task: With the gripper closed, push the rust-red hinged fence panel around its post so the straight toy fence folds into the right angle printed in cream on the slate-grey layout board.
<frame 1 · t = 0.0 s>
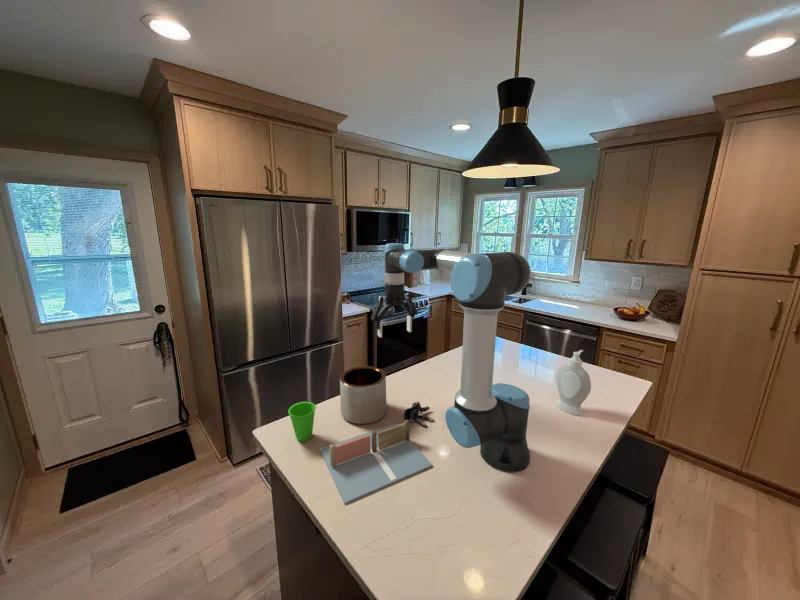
hand: (394, 333, 132), 28 cm above the counter, fingers open, 13 cm apart
fixed fence panel: (374, 452, 104), resting on layout card
soap bottle: (570, 409, 128), on the counter
cup: (304, 437, 111), on the counter
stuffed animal: (416, 417, 124), on the counter
hinged fence panel: (350, 449, 99), point 4 cm above the counter, hinge at 0.0°
planter: (364, 412, 126), on the counter
layout card: (374, 457, 101), on the counter
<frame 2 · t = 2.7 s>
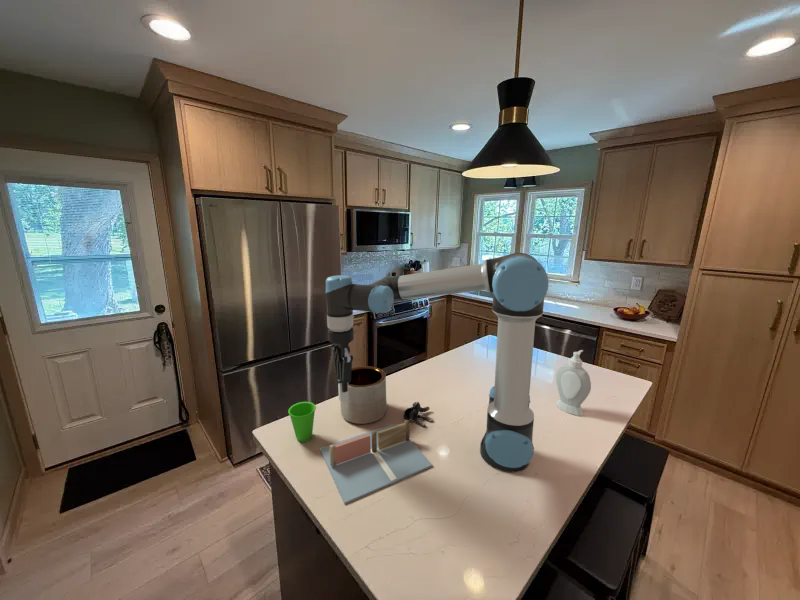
hand: (343, 399, 101), 18 cm above the counter, fingers closed
nothing on the counter moved.
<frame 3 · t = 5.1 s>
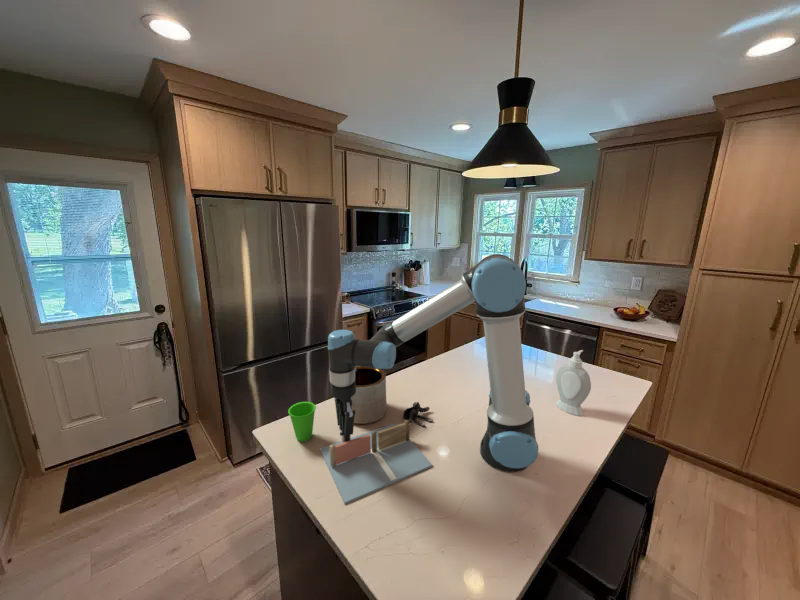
hand: (346, 449, 101), 3 cm above the counter, fingers closed
hinged fence panel: (350, 449, 99), point 4 cm above the counter, hinge at 0.0°, touching gripper
everything else where it was.
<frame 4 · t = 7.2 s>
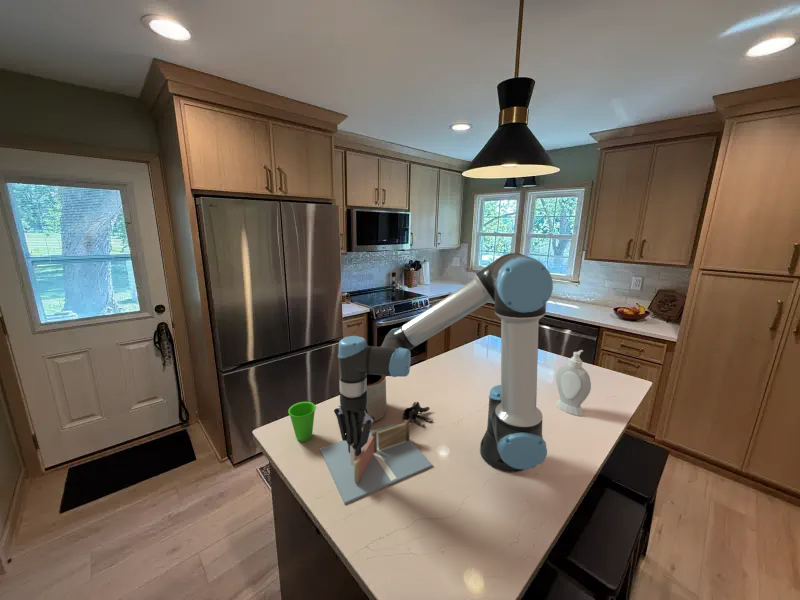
hand: (355, 462, 95), 3 cm above the counter, fingers closed
hinged fence panel: (364, 458, 95), point 4 cm above the counter, hinge at 45.0°, touching gripper
everything else where it was.
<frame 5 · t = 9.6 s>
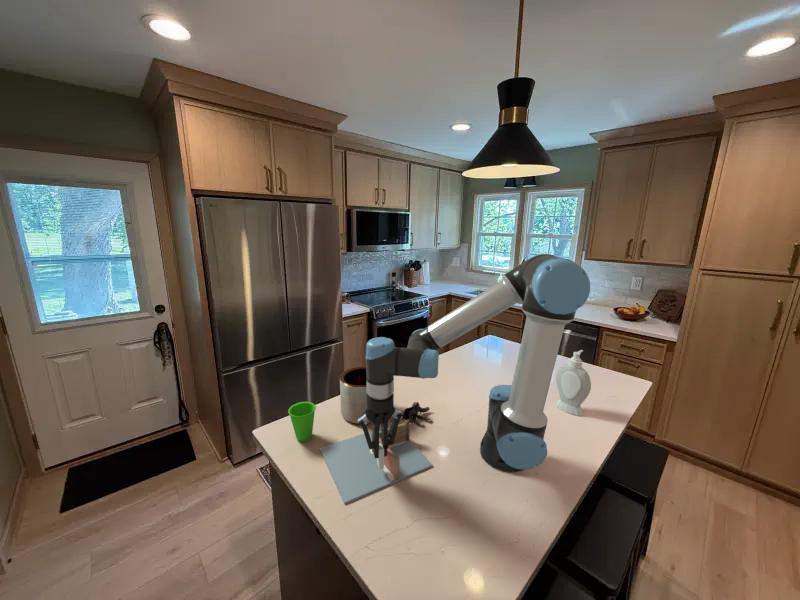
hand: (380, 465, 94), 3 cm above the counter, fingers closed
hinged fence panel: (386, 455, 96), point 4 cm above the counter, hinge at 93.6°
everything else where it was.
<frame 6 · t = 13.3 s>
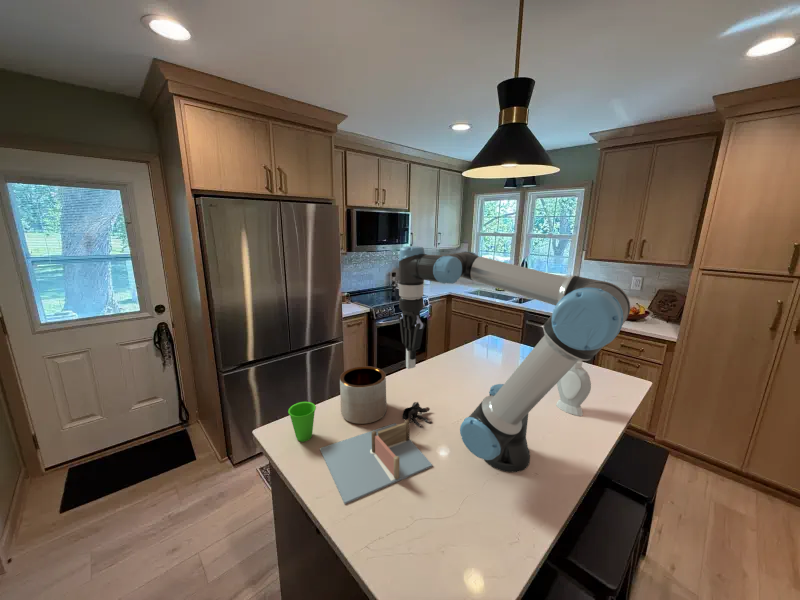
hand: (410, 367, 105), 26 cm above the counter, fingers closed
nothing on the counter moved.
at the end: hinged fence panel at +94° (first picture: +0°) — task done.
